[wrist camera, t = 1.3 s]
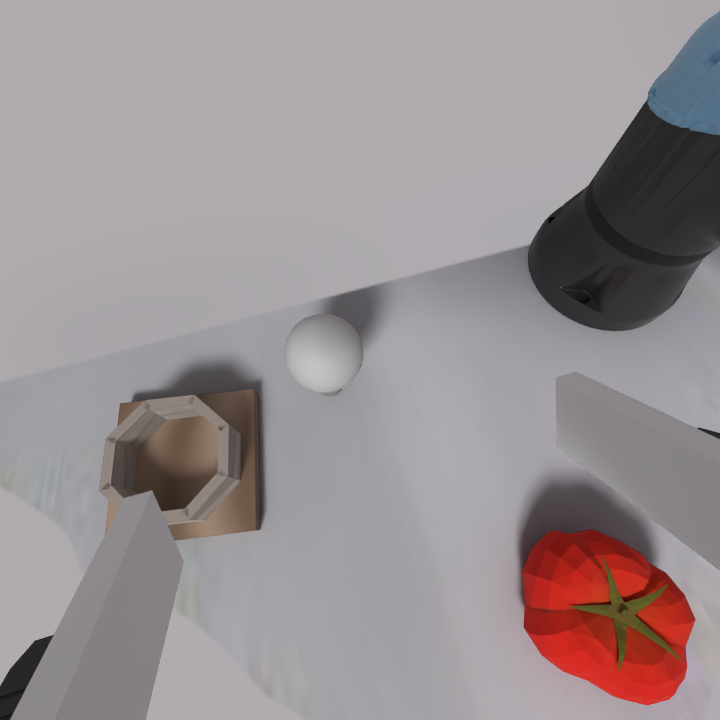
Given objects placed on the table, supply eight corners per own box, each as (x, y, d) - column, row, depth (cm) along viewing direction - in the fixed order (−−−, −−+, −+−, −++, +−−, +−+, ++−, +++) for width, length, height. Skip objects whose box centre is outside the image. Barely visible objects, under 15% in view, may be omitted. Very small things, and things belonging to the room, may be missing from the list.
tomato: (639, 704, 30) (711, 750, 23) (494, 633, 31) (526, 659, 25) (658, 567, 33) (725, 576, 27) (526, 509, 35) (562, 506, 29)
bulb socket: (257, 393, 38) (243, 375, 34) (260, 529, 34) (244, 530, 29) (128, 407, 38) (96, 391, 33) (114, 547, 33) (74, 551, 29)
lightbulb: (297, 359, 40) (276, 302, 30) (359, 354, 40) (359, 295, 30) (300, 420, 37) (278, 380, 27) (365, 414, 38) (368, 372, 28)
